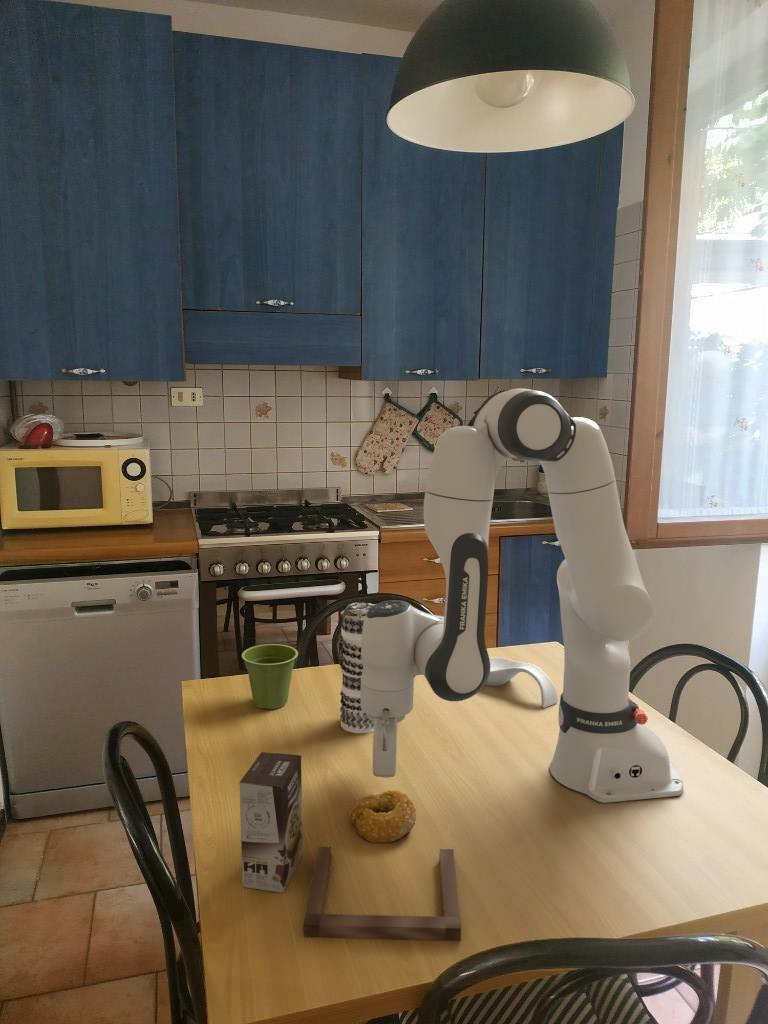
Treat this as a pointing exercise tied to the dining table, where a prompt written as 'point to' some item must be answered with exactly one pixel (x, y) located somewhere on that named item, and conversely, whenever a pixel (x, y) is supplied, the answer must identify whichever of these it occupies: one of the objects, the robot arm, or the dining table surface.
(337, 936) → the brown u-shaped frame
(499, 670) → the spoon rest
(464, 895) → the dining table surface
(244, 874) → the coffee box
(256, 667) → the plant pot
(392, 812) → the bagel
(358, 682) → the decorative candle
